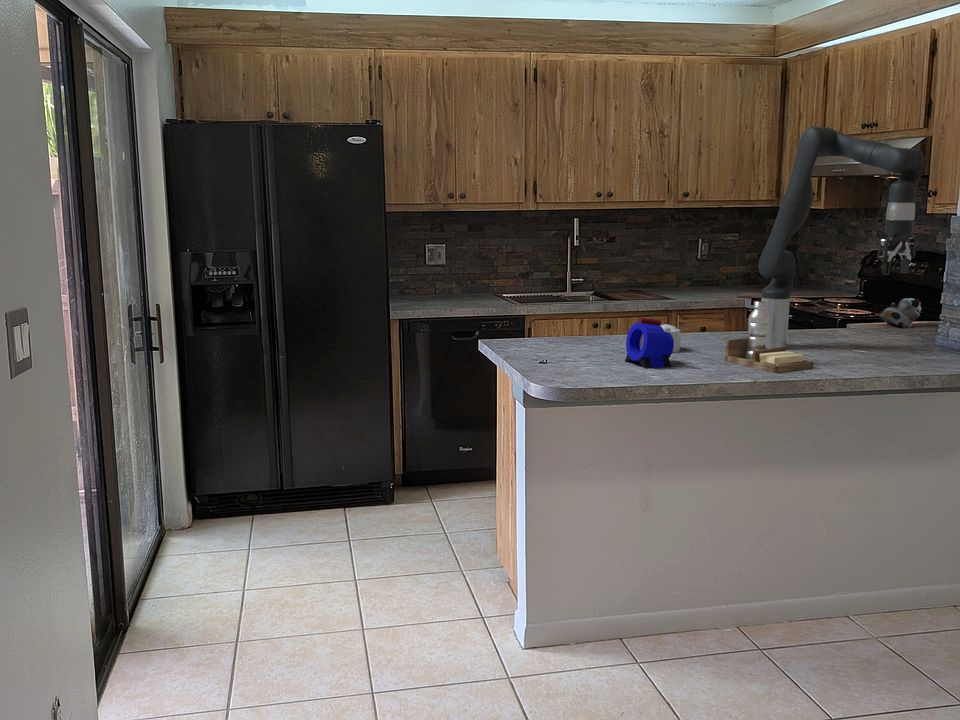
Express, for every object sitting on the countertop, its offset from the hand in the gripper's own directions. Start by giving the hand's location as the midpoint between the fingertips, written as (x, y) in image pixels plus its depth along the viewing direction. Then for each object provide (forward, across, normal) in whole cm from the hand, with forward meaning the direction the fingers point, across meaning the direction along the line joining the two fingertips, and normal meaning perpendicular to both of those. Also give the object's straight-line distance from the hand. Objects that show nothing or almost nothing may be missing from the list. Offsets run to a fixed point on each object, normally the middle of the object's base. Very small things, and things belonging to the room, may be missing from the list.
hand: (894, 273), depth 260 cm
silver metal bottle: (+30, +29, -24) cm, 48 cm away
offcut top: (+26, +29, -15) cm, 42 cm away
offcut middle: (+28, +29, -15) cm, 43 cm away
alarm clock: (+30, +56, -43) cm, 76 cm away
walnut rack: (+29, +29, -20) cm, 45 cm away
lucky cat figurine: (+30, -82, -54) cm, 103 cm away
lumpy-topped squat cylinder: (+30, +38, -60) cm, 77 cm away
